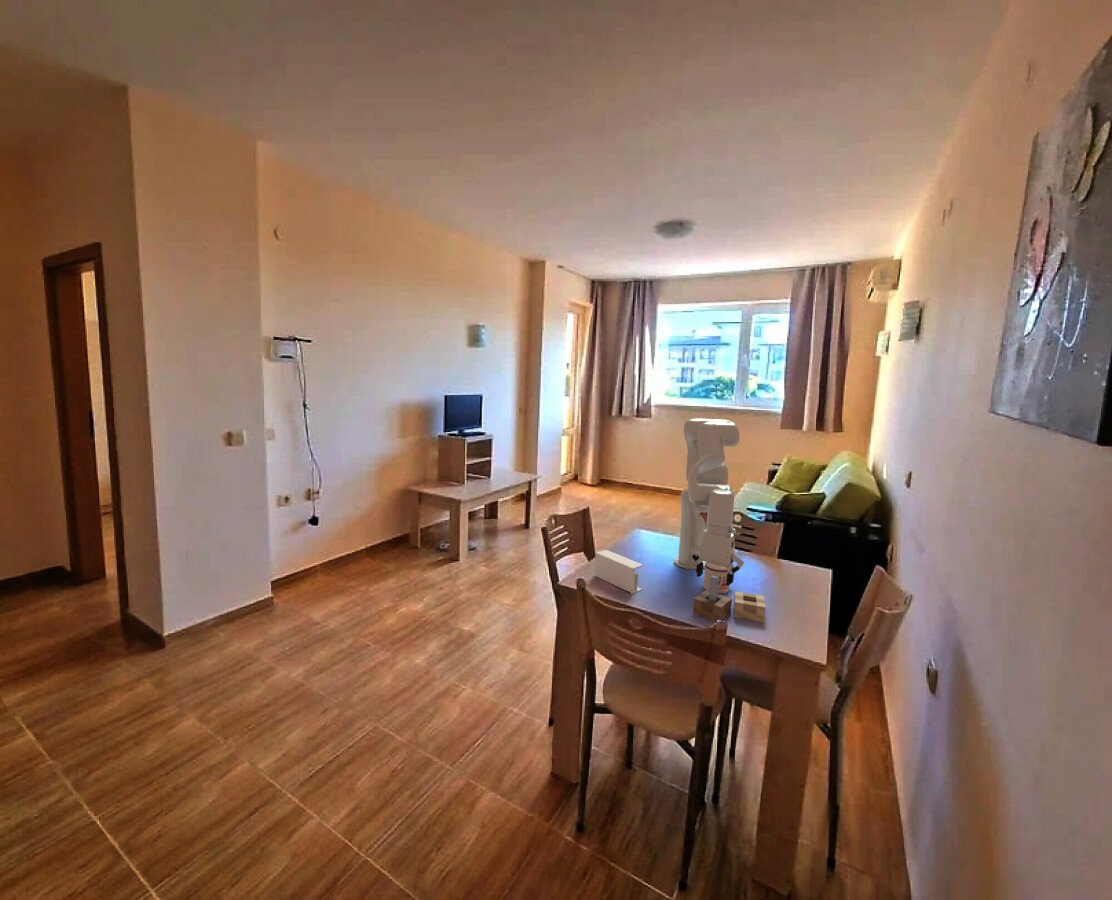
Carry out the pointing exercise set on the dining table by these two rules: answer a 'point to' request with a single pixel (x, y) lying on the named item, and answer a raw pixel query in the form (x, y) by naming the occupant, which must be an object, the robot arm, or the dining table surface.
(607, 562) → the white channel beam
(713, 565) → the teacup with lid
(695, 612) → the brown square-hole block
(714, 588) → the needle dowel
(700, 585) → the dining table surface
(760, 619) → the checkered wooden socket block
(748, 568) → the dining table surface
